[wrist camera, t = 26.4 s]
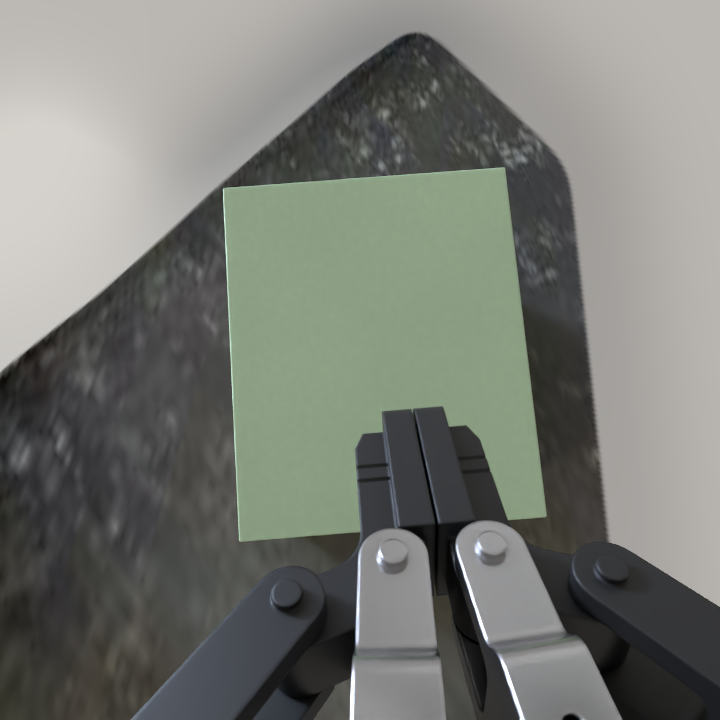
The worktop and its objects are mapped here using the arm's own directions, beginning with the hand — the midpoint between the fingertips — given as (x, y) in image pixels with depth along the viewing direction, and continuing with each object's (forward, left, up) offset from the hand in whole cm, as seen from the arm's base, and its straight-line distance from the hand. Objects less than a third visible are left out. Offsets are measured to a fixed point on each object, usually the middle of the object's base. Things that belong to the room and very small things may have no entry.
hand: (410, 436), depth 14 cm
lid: (-4, +3, -13) cm, 14 cm away
